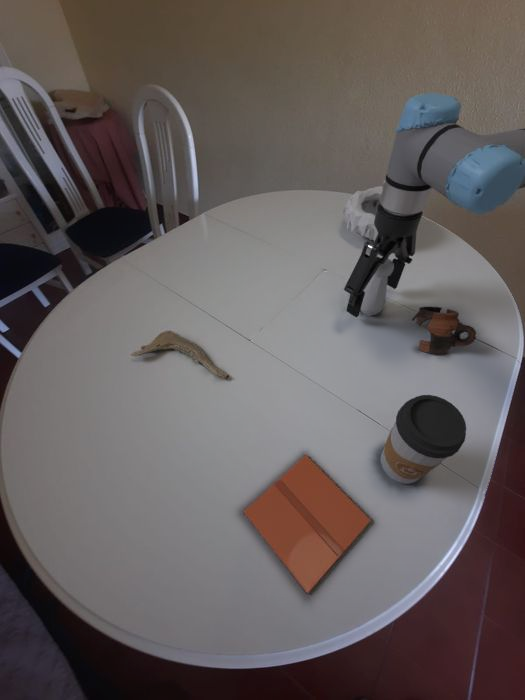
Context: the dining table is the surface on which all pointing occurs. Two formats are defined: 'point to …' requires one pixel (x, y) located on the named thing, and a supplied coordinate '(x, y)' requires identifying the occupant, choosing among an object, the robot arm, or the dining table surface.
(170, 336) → the curved driftwood piece
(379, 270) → the salt shaker
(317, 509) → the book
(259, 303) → the dining table surface
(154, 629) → the dining table surface
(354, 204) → the bowl
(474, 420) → the dining table surface
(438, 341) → the pottery mug
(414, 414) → the coffee cup
